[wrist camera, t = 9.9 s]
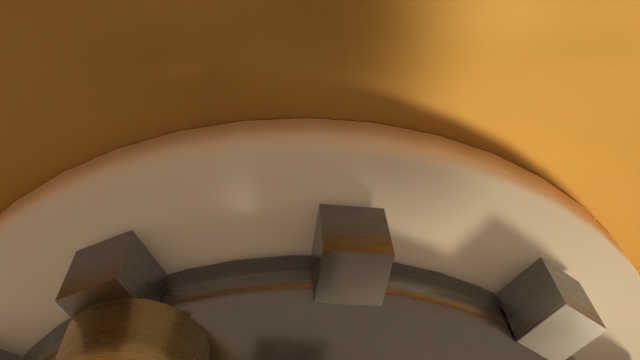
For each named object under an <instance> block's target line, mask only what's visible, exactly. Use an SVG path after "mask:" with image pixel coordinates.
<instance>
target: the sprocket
mask: <svg viewBox="0 0 640 360" xmlns="http://www.w3.org/2000/svg"><path fill="white" fill-rule="evenodd" d="M394 256H395V253H394V249H393V244H392V240H391V236H390V232H389V227H388V223H387V219H386V214H385V210H384V208H372V207H358V206H344V205H331V204H319V208H318V215H317V221H316V227H315V234H314V240H313V246H312V253H311V256H310V255H287V256H275V257H264V258H252V259H240V260H233V261H228V262H223V263H218V264H212V265H207V266H202V267H196V268H191V269H186V270H183V271H180V272H176V273H173V274H170V275H166V273H165V271H164V270H163V269H162V268H161V266H160V265H159V264H158V262H157V261H156V260H155V258H154V257H153V256H152V255H151V253H150V252H149V251H148V249H147V248H146V247H145V246H144V244H143V243H142V242H141V240H140V239H139V238H138V237H137V235H136V234H135V233H134V231H133V230H130V231H128V232H125V233H122V234H120V235H117V236H115V237H112V238H109V239H107V240H104V241H101V242H99V243H96V244H94V245H91V246H88V247H86V248H83V249H81V250H78V251H76V253H75V255H74V258H73V260H72V262H71V265H70V267H69V269H68V272H67V274H66V276H65V279H64V281H63V283H62V286H61V288H60V290H59V293H58V295H57V297H56V299H55V302H56V303H57V304H58V305H59V306H60V307H61V308H62V309H63V310H64V311H65V312H66V313H67V314H68V315H69V316H70V317H71V318H69V319H67V320H66V321H64V322H62V323H61V324H60V325H58V326H57V327H56V328H55V329H53V330H52V331H51V332H50V333H48V334H47V335H46V336H45V337H44V338H42V339H41V340H40V341H39V342H37V343H36V344H35V345H34V346H32V347H31V349H30V350H29V351H28V352H27V353H26V354H25V355H24V357H23V358H22V359H21V360H575V358H574V357H573V354H574V353H576V352H577V351H578V350H580V349H581V348H583V347H584V346H585V345H587V344H588V343H590V342H591V341H592V340H594V339H595V338H597V337H598V336H600V335H601V334H602V333H604V332H605V331H607V329H606V327H605V325H604V323H603V322H602V320H601V318H600V317H599V315H598V313H597V311H596V310H595V308H594V306H593V305H592V303H591V301H590V299H589V298H588V296H587V294H586V293H585V291H584V289H583V287H582V286H581V284H580V282H578V281H577V280H575V279H574V278H572V277H571V276H569V275H568V274H566V273H565V272H563V271H562V270H560V269H559V268H557V267H556V266H554V265H553V264H551V263H550V262H548V261H547V260H545V259H544V258H542V257H540V258H539V259H538V260H536V261H535V262H534V263H533V264H531V265H530V266H529V267H528V268H527V269H525V270H524V271H523V272H522V273H520V274H519V275H518V276H517V277H516V278H514V279H513V280H512V281H511V282H510V283H508V284H507V285H506V286H505V287H503V288H502V289H501V290H500V291H499V292H497V295H496V294H494V293H492V292H490V291H488V290H486V289H484V288H482V287H480V286H477V285H474V284H471V283H468V282H465V281H463V280H460V279H457V278H454V277H451V276H448V275H446V274H443V273H440V272H436V271H431V270H427V269H422V268H418V267H414V266H409V265H405V264H400V263H396V262H393V260H394ZM20 358H21V356H18V355H16V354H13V353H11V352H8V351H5V350H3V349H0V360H20Z"/></svg>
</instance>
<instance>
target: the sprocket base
mask: <svg viewBox="0 0 640 360" xmlns="http://www.w3.org/2000/svg"><path fill="white" fill-rule="evenodd" d="M319 204H331V205H344V206H358V207H372V208H384V210H385V214H386V219H387V223H388V227H389V232H390V236H391V240H392V244H393V249H394V253H395V256H394V260H393V262H396V263H400V264H405V265H409V266H414V267H418V268H422V269H427V270H431V271H436V272H440V273H443V274H446V275H448V276H451V277H454V278H457V279H460V280H463V281H465V282H468V283H471V284H474V285H477V286H480V287H482V288H484V289H486V290H488V291H490V292H492V293H494V294H496V295H497V292H499V291H500V290H501V289H502V288H503V287H505V286H506V285H507V284H508V283H510V282H511V281H512V280H513V279H514V278H516V277H517V276H518V275H519V274H520V273H522V272H523V271H524V270H525V269H527V268H528V267H529V266H530V265H531V264H533V263H534V262H535V261H536V260H538V259H539V258H540V257H542V258H544V259H545V260H547V261H548V262H550V263H551V264H553V265H554V266H556V267H557V268H559V269H560V270H562V271H563V272H565V273H566V274H568V275H569V276H571V277H572V278H574V279H575V280H577V281H578V282H580V284H581V286H582V287H583V289H584V291H585V293H586V294H587V296H588V298H589V299H590V301H591V303H592V305H593V306H594V308H595V310H596V311H597V313H598V315H599V317H600V318H601V320H602V322H603V323H604V325H605V327H606V329H607V331H605V332H604V333H602V334H601V335H600V336H598V337H597V338H595V339H594V340H592V341H591V342H590V343H588V344H587V345H585V346H584V347H583V348H581V349H580V350H578V351H577V352H576V353H574V354H573V357H574V358H575V360H640V275H639V274H638V272H637V271H636V270H635V268H634V267H633V265H632V264H631V263H630V261H629V260H628V258H627V257H626V256H625V254H624V253H623V251H622V250H621V249H620V247H619V246H618V244H617V243H616V242H615V240H614V239H613V237H612V236H611V235H610V234H609V233H608V232H607V231H606V230H605V229H604V228H603V227H602V226H601V225H600V224H599V223H598V222H597V221H596V220H595V219H594V218H593V217H592V216H591V215H590V214H589V213H588V212H587V211H586V210H585V209H584V208H583V207H582V206H581V205H580V204H579V203H577V202H576V201H574V200H573V199H571V198H570V197H569V196H567V195H566V194H564V193H563V192H561V191H560V190H559V189H557V188H556V187H554V186H553V185H551V184H550V183H549V182H547V181H546V180H544V179H543V178H541V177H540V176H538V175H536V174H534V173H532V172H530V171H528V170H526V169H524V168H521V167H519V166H517V165H515V164H513V163H511V162H509V161H507V160H505V159H503V158H501V157H499V156H497V155H495V154H493V153H490V152H487V151H484V150H481V149H478V148H475V147H472V146H469V145H466V144H463V143H460V142H457V141H454V140H451V139H448V138H445V137H442V136H439V135H435V134H430V133H425V132H420V131H415V130H410V129H405V128H400V127H394V126H389V125H384V124H379V123H372V122H358V121H344V120H331V119H317V118H297V119H274V120H251V121H239V122H233V123H226V124H220V125H214V126H208V127H202V128H195V129H189V130H183V131H177V132H174V133H170V134H167V135H163V136H160V137H156V138H153V139H149V140H146V141H142V142H139V143H135V144H132V145H129V146H125V147H122V148H118V149H115V150H113V151H111V152H108V153H106V154H104V155H101V156H99V157H97V158H95V159H92V160H90V161H88V162H85V163H83V164H81V165H78V166H76V167H74V168H71V169H69V170H67V171H64V172H62V173H60V174H59V175H57V176H56V177H54V178H52V179H51V180H49V181H47V182H46V183H44V184H42V185H41V186H39V187H38V188H36V189H34V190H33V191H31V192H29V193H28V194H26V195H25V196H23V197H21V198H20V199H18V200H16V201H15V202H14V203H12V204H11V205H10V206H9V207H8V208H7V209H5V210H4V211H3V212H2V213H1V214H0V349H3V350H5V351H8V352H11V353H13V354H16V355H18V356H21V358H20V360H21V359H22V358H23V357H24V355H25V354H26V353H27V352H28V351H29V350H30V349H31V347H32V346H34V345H35V344H36V343H37V342H39V341H40V340H41V339H42V338H44V337H45V336H46V335H47V334H48V333H50V332H51V331H52V330H53V329H55V328H56V327H57V326H58V325H60V324H61V323H62V322H64V321H66V320H67V319H69V318H71V317H70V316H69V315H68V314H67V313H66V312H65V311H64V310H63V309H62V308H61V307H60V306H59V305H58V304H57V303H56V302H55V299H56V297H57V295H58V293H59V290H60V288H61V286H62V283H63V281H64V279H65V276H66V274H67V272H68V269H69V267H70V265H71V262H72V260H73V258H74V255H75V253H76V251H78V250H81V249H83V248H86V247H88V246H91V245H94V244H96V243H99V242H101V241H104V240H107V239H109V238H112V237H115V236H117V235H120V234H122V233H125V232H128V231H130V230H133V231H134V233H135V234H136V235H137V237H138V238H139V239H140V240H141V242H142V243H143V244H144V246H145V247H146V248H147V249H148V251H149V252H150V253H151V255H152V256H153V257H154V258H155V260H156V261H157V262H158V264H159V265H160V266H161V268H162V269H163V270H164V271H165V273H166V275H170V274H173V273H176V272H180V271H183V270H186V269H191V268H196V267H202V266H207V265H212V264H218V263H223V262H228V261H233V260H240V259H252V258H264V257H275V256H287V255H310V256H311V253H312V246H313V240H314V234H315V227H316V221H317V215H318V208H319Z"/></svg>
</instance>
